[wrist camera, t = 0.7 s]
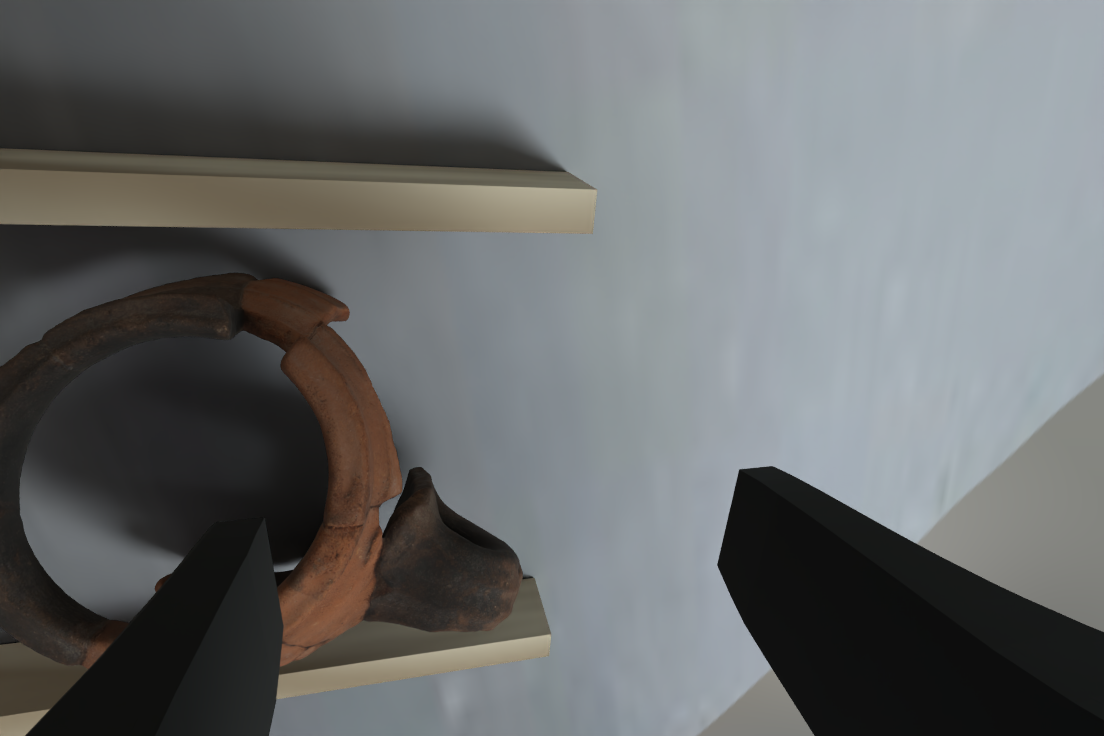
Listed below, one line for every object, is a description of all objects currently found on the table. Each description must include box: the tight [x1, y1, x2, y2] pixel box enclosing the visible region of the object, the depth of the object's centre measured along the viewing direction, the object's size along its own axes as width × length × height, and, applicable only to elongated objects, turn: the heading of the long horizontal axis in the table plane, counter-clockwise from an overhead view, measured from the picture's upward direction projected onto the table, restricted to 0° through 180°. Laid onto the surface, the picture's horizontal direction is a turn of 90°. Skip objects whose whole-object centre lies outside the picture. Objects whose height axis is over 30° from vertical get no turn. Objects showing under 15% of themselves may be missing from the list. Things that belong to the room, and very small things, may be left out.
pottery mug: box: [0, 273, 523, 669], centre depth 16 cm, size 12×10×8 cm
